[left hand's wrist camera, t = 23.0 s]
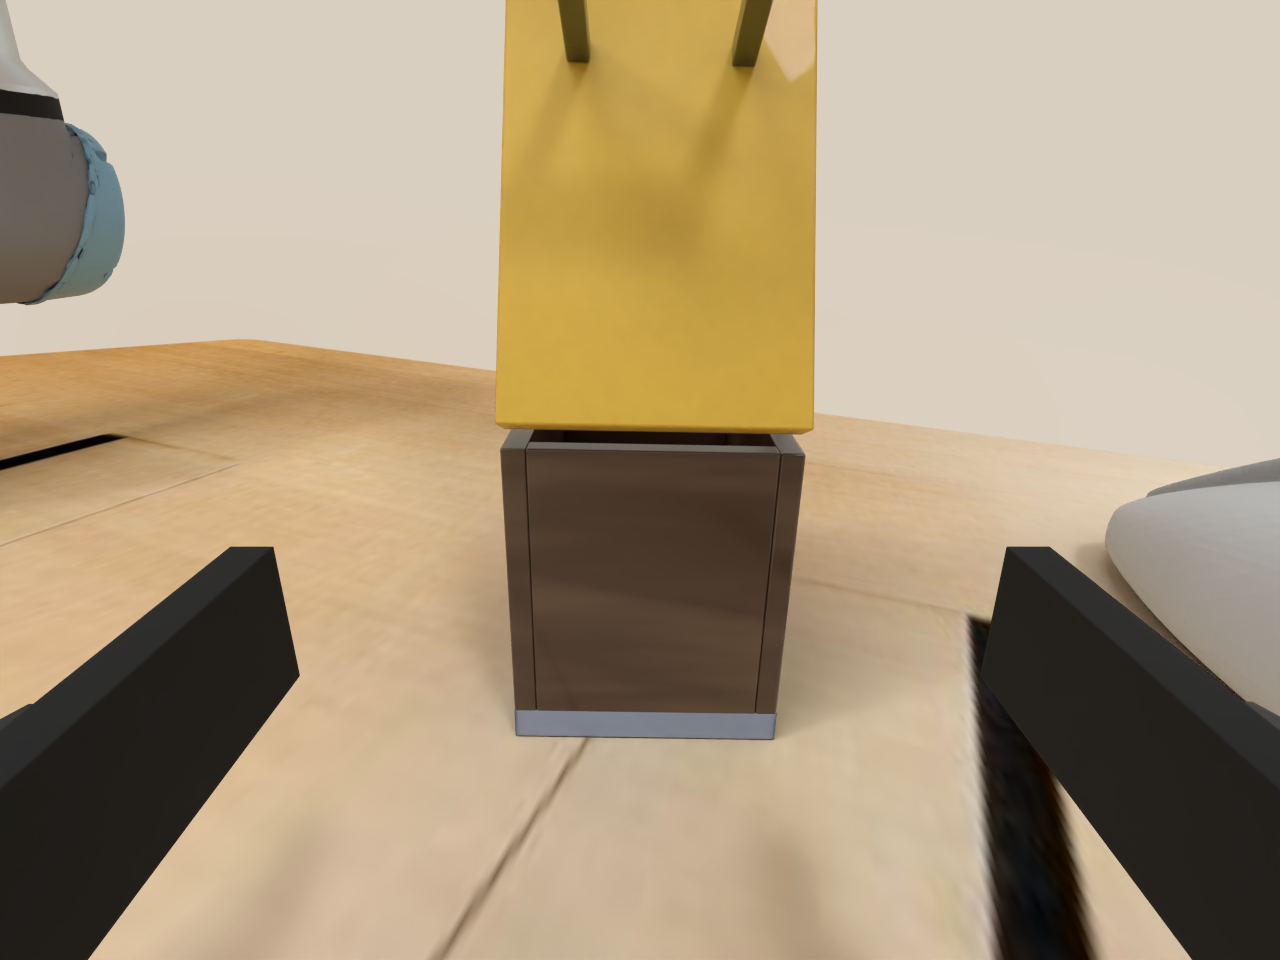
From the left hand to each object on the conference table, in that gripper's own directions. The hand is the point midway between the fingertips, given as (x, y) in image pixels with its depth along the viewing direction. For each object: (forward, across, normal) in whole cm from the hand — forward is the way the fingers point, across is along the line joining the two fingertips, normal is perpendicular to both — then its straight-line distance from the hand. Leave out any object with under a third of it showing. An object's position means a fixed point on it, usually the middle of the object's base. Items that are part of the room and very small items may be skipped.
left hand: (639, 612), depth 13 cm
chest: (+16, 0, -11) cm, 19 cm away
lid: (+12, +1, +7) cm, 14 cm away
